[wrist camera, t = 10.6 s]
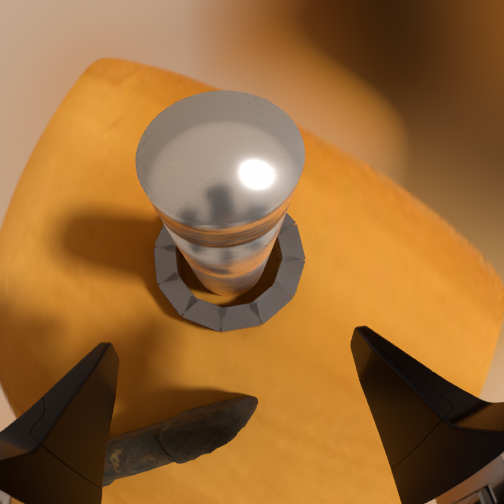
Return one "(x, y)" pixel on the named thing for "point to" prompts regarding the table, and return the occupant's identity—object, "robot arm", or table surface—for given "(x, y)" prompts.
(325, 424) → the table surface
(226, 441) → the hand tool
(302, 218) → the table surface
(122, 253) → the table surface
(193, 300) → the ring
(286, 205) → the silver metal cylinder
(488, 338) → the table surface
